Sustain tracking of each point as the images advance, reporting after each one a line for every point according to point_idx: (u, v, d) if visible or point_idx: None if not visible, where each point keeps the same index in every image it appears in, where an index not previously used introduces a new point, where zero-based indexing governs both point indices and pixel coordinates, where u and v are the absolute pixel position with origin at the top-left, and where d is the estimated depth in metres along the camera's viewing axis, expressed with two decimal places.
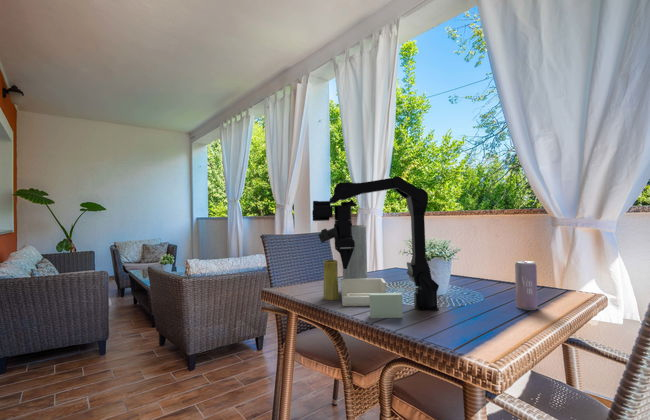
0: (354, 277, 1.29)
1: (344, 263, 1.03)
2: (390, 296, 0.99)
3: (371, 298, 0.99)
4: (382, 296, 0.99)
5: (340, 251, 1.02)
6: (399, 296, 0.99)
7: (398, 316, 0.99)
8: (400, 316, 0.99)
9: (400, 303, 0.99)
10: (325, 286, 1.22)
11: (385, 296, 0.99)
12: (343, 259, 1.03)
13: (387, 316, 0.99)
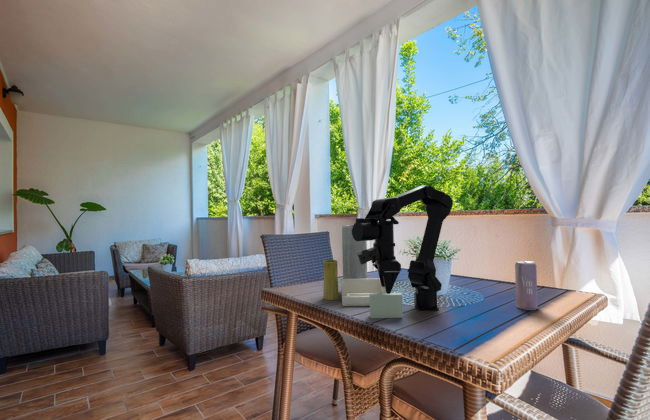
0: (354, 277, 1.29)
1: (388, 287, 0.95)
2: (390, 296, 0.99)
3: (371, 298, 0.99)
4: (382, 296, 0.99)
5: (384, 274, 0.94)
6: (399, 296, 0.99)
7: (398, 316, 0.99)
8: (400, 316, 0.99)
9: (401, 303, 0.99)
10: (325, 286, 1.22)
11: (385, 296, 0.99)
12: (387, 283, 0.95)
13: (387, 316, 0.99)
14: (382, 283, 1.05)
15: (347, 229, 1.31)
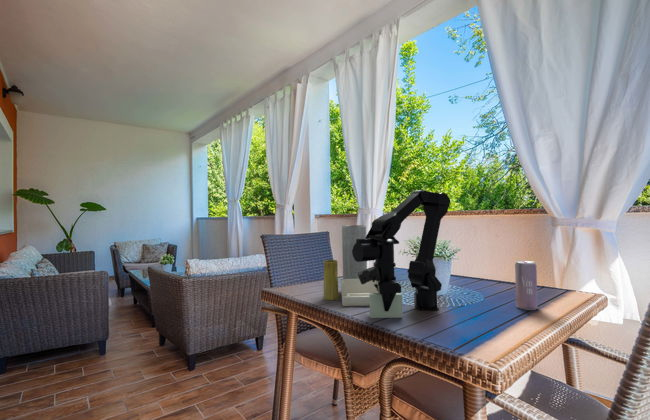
0: (354, 277, 1.29)
1: (386, 305, 0.98)
2: None
3: (371, 298, 0.99)
4: None
5: (382, 293, 0.97)
6: (399, 296, 0.99)
7: (398, 316, 0.99)
8: (400, 316, 0.99)
9: (401, 303, 0.99)
10: (325, 286, 1.22)
11: None
12: (385, 301, 0.98)
13: (387, 316, 0.99)
14: None
15: (347, 229, 1.31)
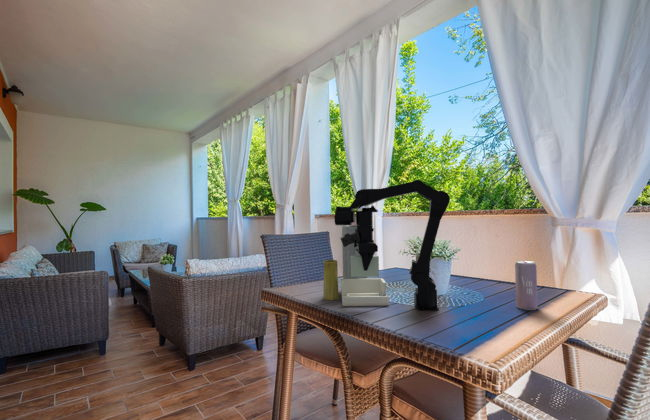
0: (354, 277, 1.29)
1: (365, 265, 1.12)
2: None
3: (351, 259, 1.13)
4: (361, 257, 1.13)
5: (362, 254, 1.11)
6: (376, 257, 1.13)
7: (375, 275, 1.13)
8: (377, 275, 1.13)
9: (377, 264, 1.13)
10: (325, 286, 1.22)
11: None
12: (364, 261, 1.11)
13: (365, 275, 1.12)
14: None
15: (347, 229, 1.31)
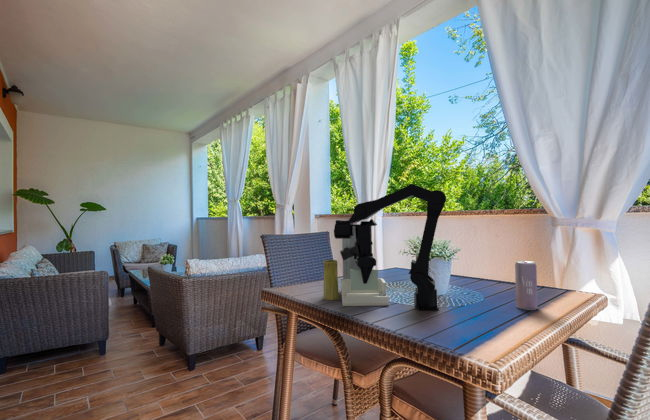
0: None
1: (364, 278, 1.13)
2: None
3: (351, 273, 1.14)
4: (360, 271, 1.14)
5: (361, 267, 1.12)
6: (375, 271, 1.14)
7: (374, 288, 1.14)
8: (376, 288, 1.14)
9: (376, 277, 1.14)
10: (325, 286, 1.22)
11: None
12: (363, 274, 1.13)
13: (365, 288, 1.14)
14: None
15: None
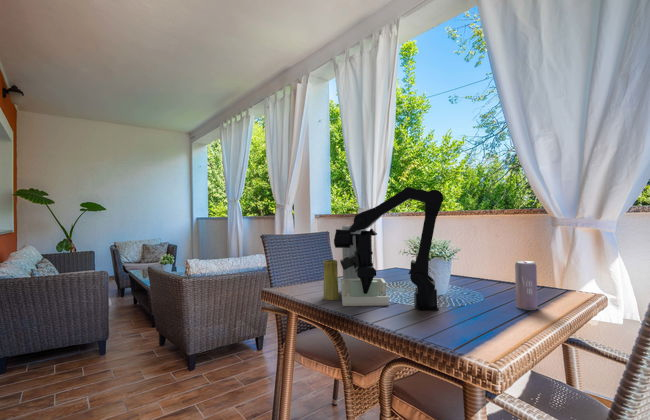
0: (354, 277, 1.29)
1: (365, 288, 1.12)
2: None
3: (351, 285, 1.14)
4: (361, 283, 1.14)
5: (361, 278, 1.11)
6: (375, 283, 1.14)
7: None
8: None
9: (377, 289, 1.14)
10: (325, 286, 1.22)
11: None
12: (364, 285, 1.12)
13: None
14: None
15: (347, 229, 1.31)
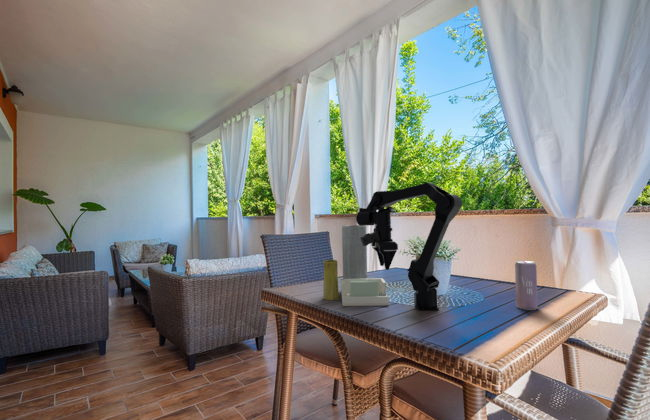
0: (354, 277, 1.29)
1: (386, 264, 1.14)
2: (368, 283, 1.14)
3: (351, 285, 1.14)
4: (361, 283, 1.14)
5: (383, 253, 1.13)
6: (375, 283, 1.14)
7: None
8: None
9: (377, 289, 1.14)
10: (325, 286, 1.22)
11: (363, 283, 1.14)
12: (386, 260, 1.14)
13: None
14: (381, 263, 1.24)
15: (347, 229, 1.31)
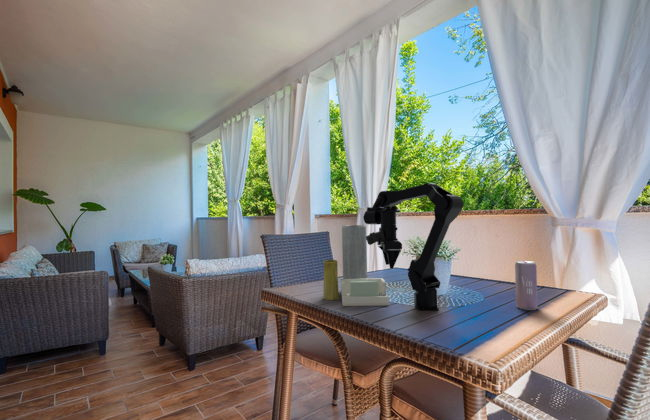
0: (354, 277, 1.29)
1: (391, 263, 1.16)
2: (368, 283, 1.14)
3: (351, 285, 1.14)
4: (361, 283, 1.14)
5: (388, 252, 1.15)
6: (375, 283, 1.14)
7: None
8: None
9: (377, 289, 1.14)
10: (325, 286, 1.22)
11: (363, 283, 1.14)
12: (390, 259, 1.15)
13: None
14: (386, 261, 1.25)
15: (347, 229, 1.31)
